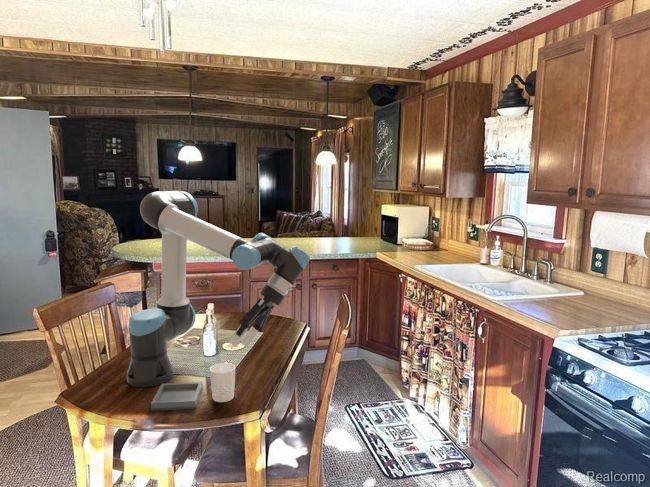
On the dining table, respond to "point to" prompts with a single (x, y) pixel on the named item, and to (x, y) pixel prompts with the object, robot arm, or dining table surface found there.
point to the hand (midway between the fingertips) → (238, 344)
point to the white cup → (222, 381)
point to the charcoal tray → (177, 396)
